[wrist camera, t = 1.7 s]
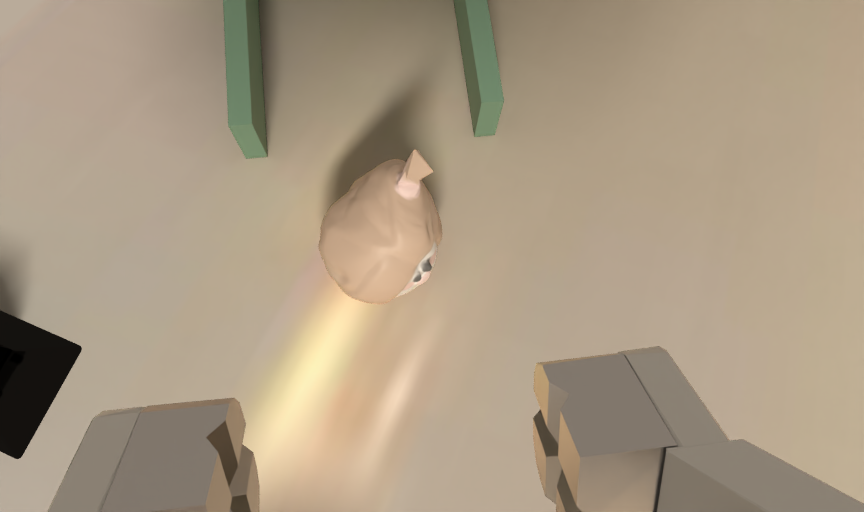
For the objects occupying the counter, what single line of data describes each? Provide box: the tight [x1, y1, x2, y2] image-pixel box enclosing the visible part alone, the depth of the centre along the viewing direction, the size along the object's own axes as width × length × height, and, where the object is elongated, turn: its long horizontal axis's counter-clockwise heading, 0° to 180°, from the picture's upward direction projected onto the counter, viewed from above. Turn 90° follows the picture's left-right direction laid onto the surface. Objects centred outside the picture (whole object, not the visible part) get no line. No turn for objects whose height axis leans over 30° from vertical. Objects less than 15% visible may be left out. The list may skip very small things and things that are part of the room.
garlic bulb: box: [319, 149, 442, 304], centre depth 33 cm, size 7×6×8 cm
